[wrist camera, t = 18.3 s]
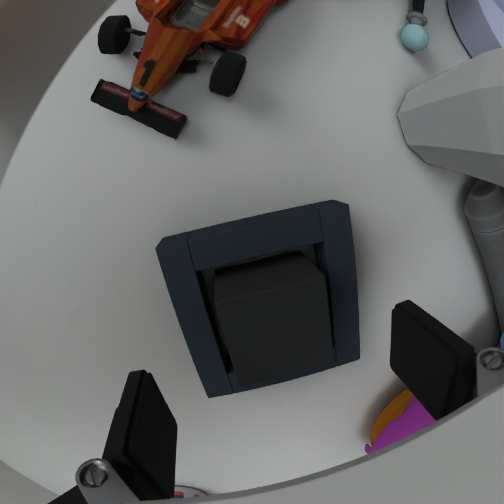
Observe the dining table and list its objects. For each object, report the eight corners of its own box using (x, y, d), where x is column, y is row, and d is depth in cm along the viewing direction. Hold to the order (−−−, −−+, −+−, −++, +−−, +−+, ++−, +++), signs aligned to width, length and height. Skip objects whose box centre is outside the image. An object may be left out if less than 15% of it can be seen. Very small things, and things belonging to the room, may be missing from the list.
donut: (383, 456, 23) (401, 488, 18) (336, 425, 20) (355, 468, 16) (463, 390, 22) (488, 416, 17) (438, 339, 19) (474, 370, 15)
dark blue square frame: (208, 377, 17) (208, 398, 16) (162, 237, 15) (154, 248, 13) (347, 341, 18) (360, 359, 16) (333, 199, 15) (348, 203, 13)
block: (234, 342, 17) (239, 387, 13) (213, 269, 16) (214, 302, 12) (311, 323, 17) (334, 362, 13) (300, 249, 16) (325, 275, 12)
